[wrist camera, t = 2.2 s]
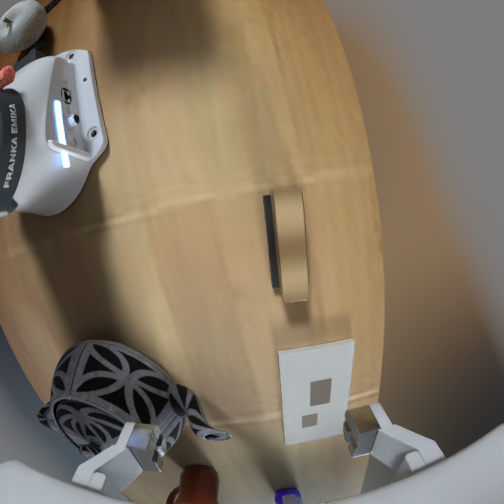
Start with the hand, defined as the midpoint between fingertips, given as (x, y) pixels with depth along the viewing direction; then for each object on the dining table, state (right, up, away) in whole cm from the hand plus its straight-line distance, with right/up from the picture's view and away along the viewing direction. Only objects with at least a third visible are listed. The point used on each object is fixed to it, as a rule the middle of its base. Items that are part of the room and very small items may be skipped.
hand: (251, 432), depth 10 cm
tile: (+9, -14, +26) cm, 31 cm away
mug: (-11, -36, +30) cm, 48 cm away
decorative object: (-33, +41, +11) cm, 54 cm away
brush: (+4, +9, +20) cm, 22 cm away
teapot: (-17, -11, +24) cm, 32 cm away
